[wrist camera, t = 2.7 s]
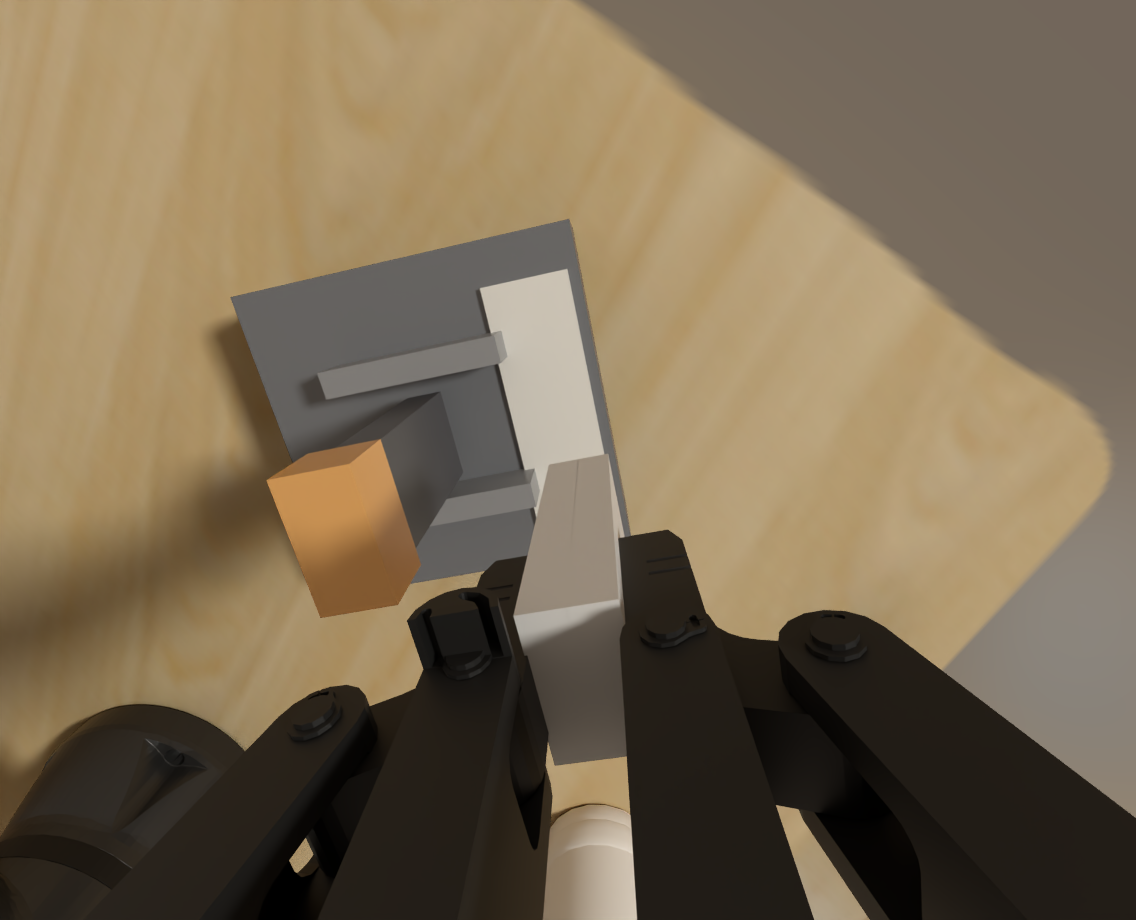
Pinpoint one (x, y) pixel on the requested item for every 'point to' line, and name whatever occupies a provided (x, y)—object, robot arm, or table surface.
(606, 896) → the bottle
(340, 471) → the lever
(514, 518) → the box
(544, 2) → the table surface
